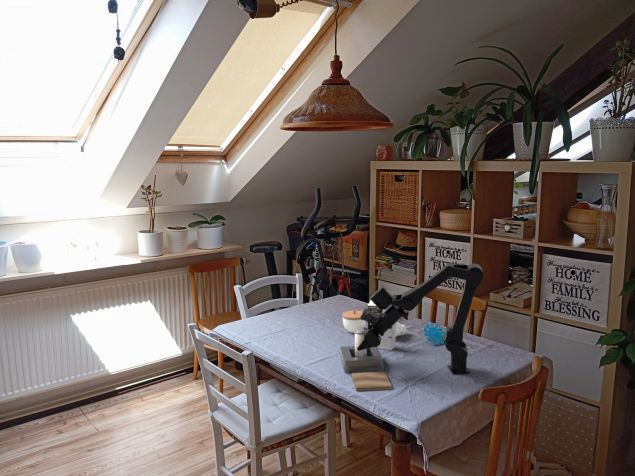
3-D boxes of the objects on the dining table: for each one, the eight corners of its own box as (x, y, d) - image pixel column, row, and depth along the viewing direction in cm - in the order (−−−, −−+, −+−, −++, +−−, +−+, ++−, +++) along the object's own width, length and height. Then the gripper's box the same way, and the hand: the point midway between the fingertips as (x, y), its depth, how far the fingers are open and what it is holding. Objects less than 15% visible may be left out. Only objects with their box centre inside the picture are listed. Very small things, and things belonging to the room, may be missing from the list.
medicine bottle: (367, 319, 253) (367, 294, 251) (370, 314, 260) (370, 290, 258) (382, 320, 251) (382, 295, 249) (385, 315, 258) (385, 291, 256)
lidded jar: (370, 332, 235) (370, 312, 233) (348, 336, 231) (348, 315, 229) (360, 325, 245) (359, 305, 243) (338, 328, 241) (338, 308, 239)
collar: (383, 370, 195) (383, 358, 194) (344, 372, 194) (344, 360, 193) (376, 356, 209) (375, 345, 208) (340, 357, 208) (340, 346, 207)
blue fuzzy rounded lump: (428, 344, 216) (421, 321, 221) (421, 350, 220) (415, 328, 226) (451, 343, 219) (444, 322, 225) (444, 350, 224) (438, 328, 230)
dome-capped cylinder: (367, 366, 199) (367, 332, 197) (356, 366, 199) (355, 333, 197) (365, 361, 204) (365, 328, 201) (354, 362, 203) (354, 329, 201)
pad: (391, 388, 180) (391, 386, 180) (356, 390, 179) (356, 388, 179) (384, 374, 192) (384, 371, 192) (351, 375, 191) (351, 373, 191)
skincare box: (377, 348, 217) (377, 319, 215) (382, 344, 220) (382, 316, 218) (392, 350, 214) (392, 321, 212) (396, 347, 217) (396, 318, 215)
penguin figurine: (380, 317, 227) (401, 315, 234) (378, 337, 228) (399, 334, 235) (390, 321, 222) (411, 318, 229) (388, 341, 223) (409, 338, 230)
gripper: (375, 295, 205) (347, 321, 209) (370, 310, 187) (339, 338, 191) (396, 316, 205) (367, 342, 209) (393, 333, 187) (361, 360, 191)
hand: (359, 345), depth 200 cm, fingers open, 9 cm apart
